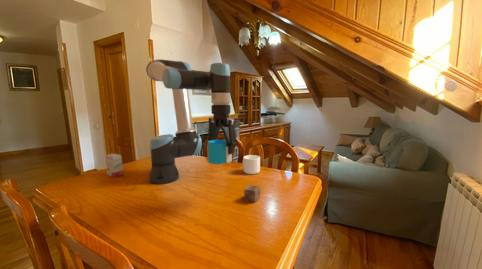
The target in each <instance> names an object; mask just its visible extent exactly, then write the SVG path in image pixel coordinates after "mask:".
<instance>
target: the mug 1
mask: <svg viewBox="0 0 482 269" xmlns="http://www.w3.org/2000/svg"><path fill="white" fill-rule="evenodd" d="M226 145H227V143H226V140H225V139H217V140H211V141H207V154H208V158H207V159H208V161H207V162H208V164H211V165H223V164H226V163H227V164H228V162H226Z"/></svg>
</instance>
